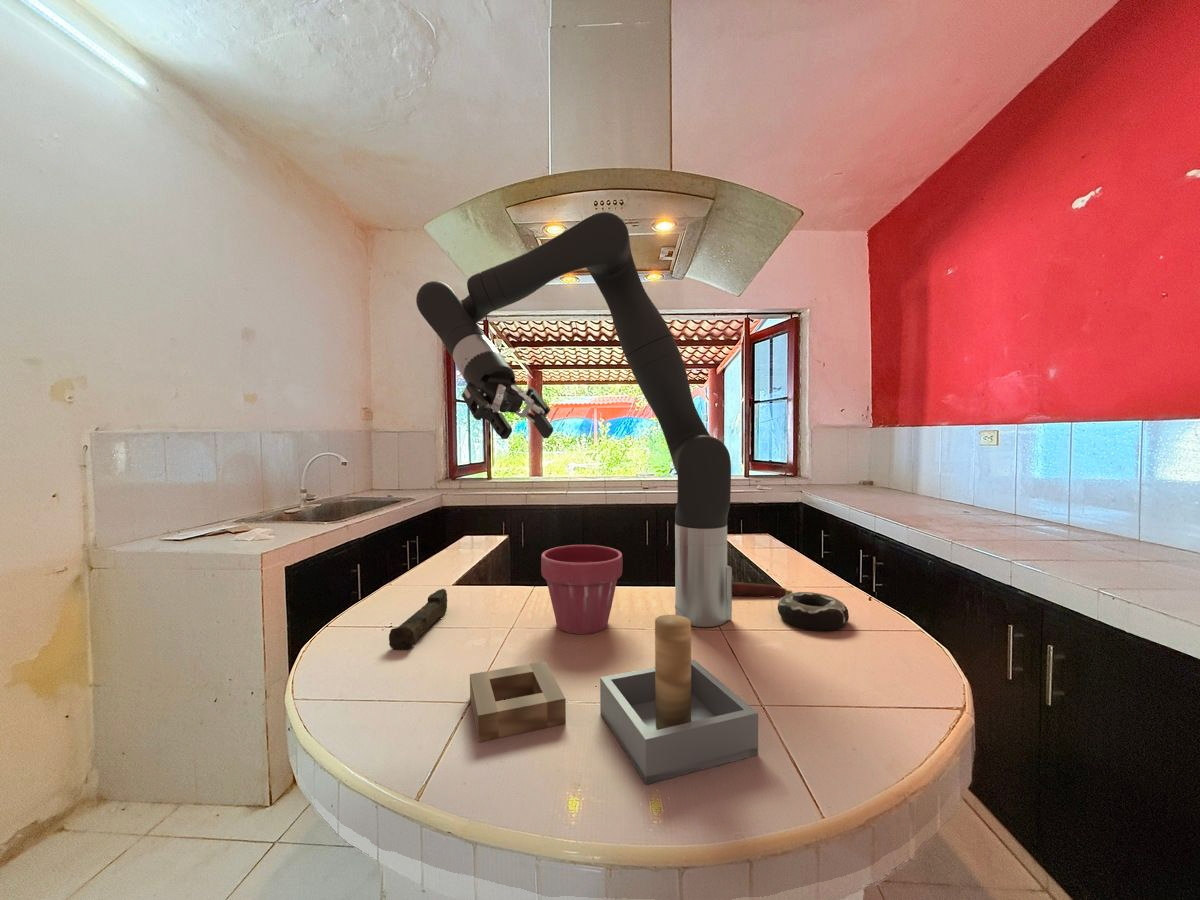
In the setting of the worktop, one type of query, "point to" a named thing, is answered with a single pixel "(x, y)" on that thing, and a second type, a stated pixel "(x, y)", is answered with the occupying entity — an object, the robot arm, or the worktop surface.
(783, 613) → the donut
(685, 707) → the dowel
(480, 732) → the socket block
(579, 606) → the plant pot
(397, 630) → the hand tool
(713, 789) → the worktop surface
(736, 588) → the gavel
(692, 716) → the tray
